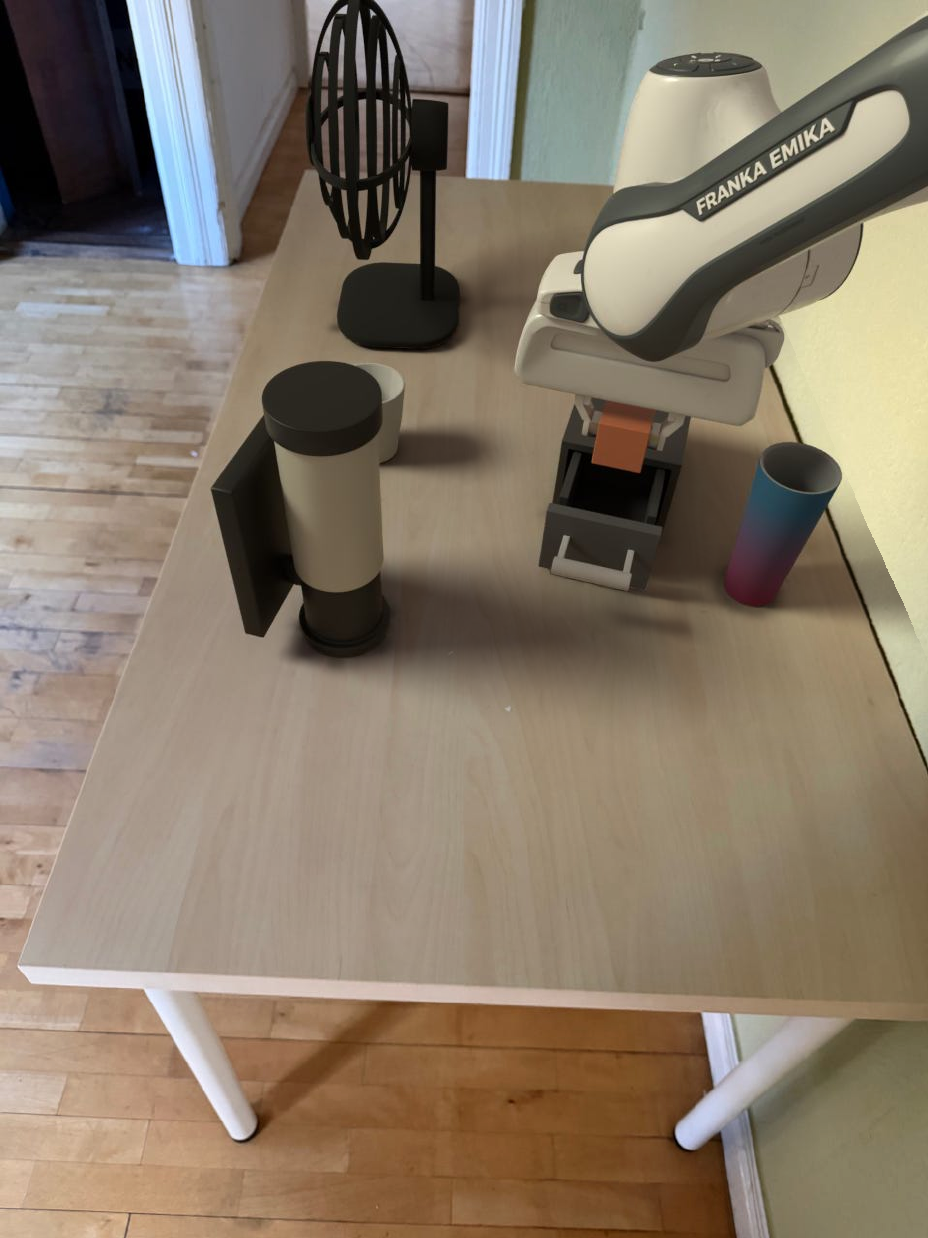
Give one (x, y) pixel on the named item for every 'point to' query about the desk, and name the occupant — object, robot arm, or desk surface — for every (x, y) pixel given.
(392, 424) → the cup
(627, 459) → the block
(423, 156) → the desk fan
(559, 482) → the cabinet
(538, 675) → the desk surface
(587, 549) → the drawer
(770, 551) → the cup
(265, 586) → the light fixture
